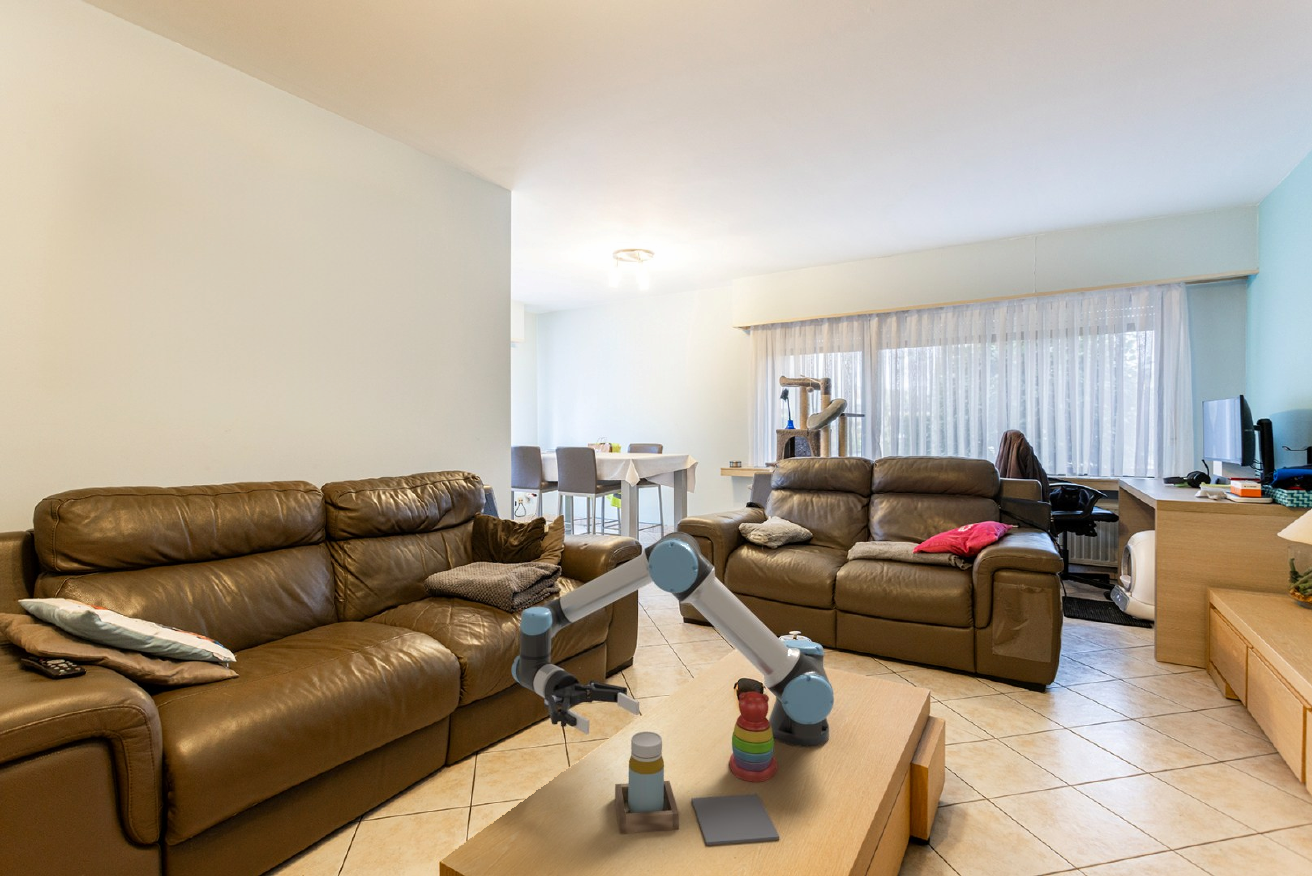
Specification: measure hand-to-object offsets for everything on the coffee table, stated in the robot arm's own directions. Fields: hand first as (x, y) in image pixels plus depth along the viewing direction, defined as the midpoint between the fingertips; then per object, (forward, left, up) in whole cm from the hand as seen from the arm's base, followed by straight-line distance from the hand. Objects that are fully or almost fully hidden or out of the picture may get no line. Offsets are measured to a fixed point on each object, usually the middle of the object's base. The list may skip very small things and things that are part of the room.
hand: (613, 717), depth 132 cm
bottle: (-6, +8, -16) cm, 19 cm away
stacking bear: (-32, -5, -16) cm, 36 cm away
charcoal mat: (-23, +12, -16) cm, 30 cm away
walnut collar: (-6, +8, -16) cm, 19 cm away
